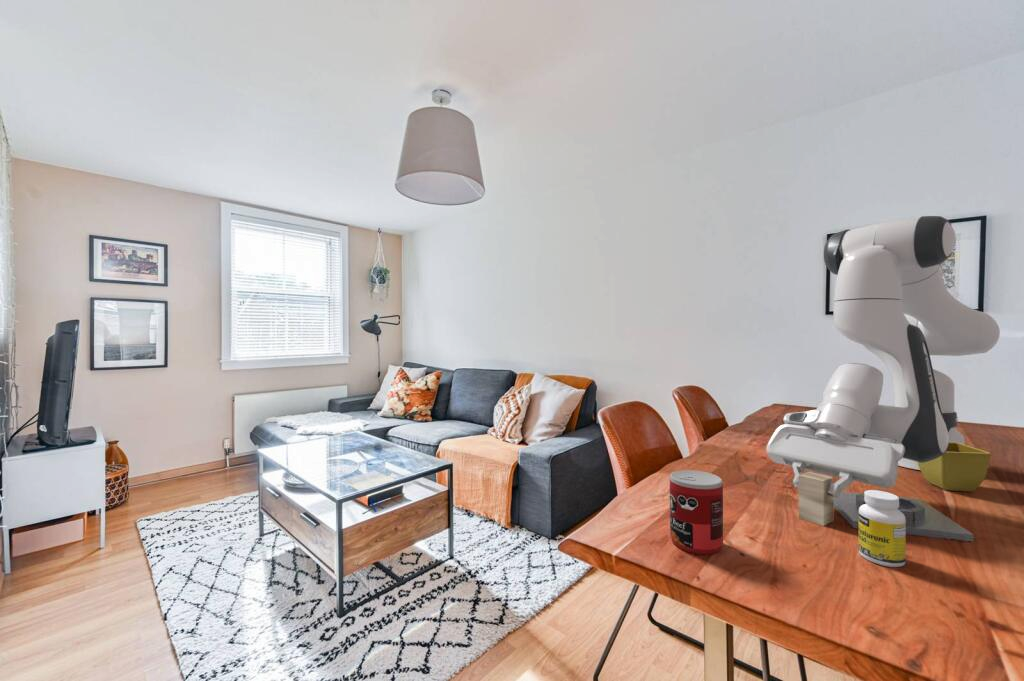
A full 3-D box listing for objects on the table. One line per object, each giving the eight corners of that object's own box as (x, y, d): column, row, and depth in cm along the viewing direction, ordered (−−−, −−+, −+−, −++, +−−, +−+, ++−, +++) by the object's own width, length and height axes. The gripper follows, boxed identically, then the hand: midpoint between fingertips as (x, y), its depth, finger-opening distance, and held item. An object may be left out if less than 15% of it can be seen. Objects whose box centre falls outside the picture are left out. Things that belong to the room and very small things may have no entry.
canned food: (664, 533, 75) (663, 469, 74) (710, 533, 74) (710, 469, 74) (679, 555, 67) (679, 485, 67) (732, 555, 67) (731, 485, 66)
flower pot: (992, 496, 89) (992, 452, 89) (942, 493, 90) (942, 451, 90) (957, 482, 97) (957, 442, 97) (912, 479, 99) (912, 441, 99)
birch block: (809, 513, 82) (808, 471, 82) (833, 520, 78) (833, 476, 78) (798, 518, 80) (798, 475, 80) (823, 526, 76) (823, 481, 76)
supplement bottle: (849, 552, 67) (849, 490, 67) (875, 547, 68) (874, 486, 68) (888, 571, 62) (888, 503, 62) (915, 565, 63) (915, 498, 63)
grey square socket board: (823, 495, 90) (823, 482, 90) (920, 505, 85) (920, 491, 85) (853, 527, 75) (853, 512, 75) (973, 542, 70) (973, 525, 70)
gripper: (912, 451, 76) (891, 520, 71) (787, 430, 93) (764, 484, 88) (903, 430, 74) (881, 499, 69) (777, 412, 91) (752, 466, 86)
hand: (814, 490), depth 79 cm, fingers closed on birch block, 4 cm apart
